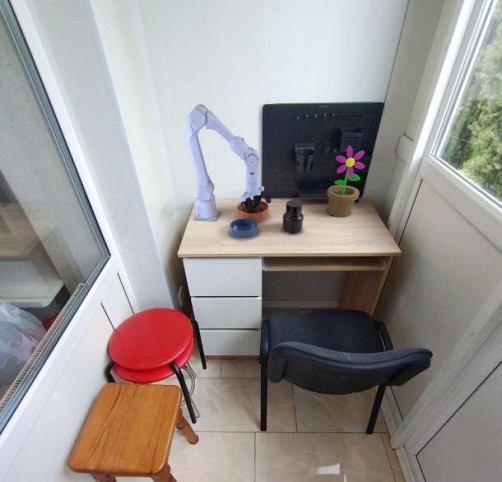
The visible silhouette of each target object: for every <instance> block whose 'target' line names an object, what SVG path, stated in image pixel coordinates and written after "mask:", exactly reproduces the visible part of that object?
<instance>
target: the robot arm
mask: <svg viewBox="0 0 502 482" xmlns="http://www.w3.org/2000/svg"><path fill="white" fill-rule="evenodd" d="M204 127H205V130H214V131H215V132H216V133H217V134H218V135H220V136H221V137H222V138H223V139H224V140H225V141H226V142H227V143H228V144H229V149H230V150H232V152H233V153H235V154H236V155H237V156H238V158H240V159H241V160H242V161H244V165H245V191H244V193H243V194H242V195H240V202H242V201H243V202H244V204H245V206H246V209H247V213H252V205H253V202H254V205H258V209H259V205H260V202H261V201H262V199H263V197H264V193H263V192H264V191H265V186H263V185H260V166H259V164H260V154H259V152H258V150H257V149H255V148H254V147H253V146H252V147H251V146H250V145H249V144H248V143H247V142H246V139H245V138H244V136H240V135H239V136H238V135H234V134H233V132H232V131H231V130H230V129H229V128H228V127H227V126H226V125H225V124H224V123H223V122H222V121H221V119H220V118H218V117H217V115H215V114H214V112H213V111H212V110H210V109H209V108H208V107H207V106H206V105H204V104H202V103H200V104H197V105H195V106H194V108H193V109H192V110H191V111H190V112H189V113H188V115H187V116H186V122H185V126H184V130H183V136H184V139H185V142H186V146H187V150H188V153H189V156H190V159H191V163H192V167H193V169H194V173H195V177H196V186H197V197H195V198H194V210H195V215H196V218H195V219H196V220H201V221H202V220H211V221H212V220H213V221H216V220H217V218H218V216H219V214H220V211H217V204H216V195H215V194H214V191H215V184H214V182H213V181H212V180H211V179H212V178H211V176H210V175H209V173H208V170H207V169H208V168H207V166H206V162H205V159H204V155H203V151H202V150H203V149H202V147H201V144H200V140H199V136H198V135H199V133H200V131H201V129H203V128H204Z"/></svg>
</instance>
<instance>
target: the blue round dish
mask: <svg viewBox="0 0 502 482" xmlns="http://www.w3.org/2000/svg"><path fill="white" fill-rule="evenodd" d="M258 225H259V224H258V223H257V222H256V221H255V220H252V219H248V218H240V219H238V218H237V219H236V218H235V219H234V220H232V221H231V222H230V224H229V232H230V235H231V236H232V237H233V238H238V239H250V238H254V237H255V236H257V234H258V231H259V227H258Z"/></svg>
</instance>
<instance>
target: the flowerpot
mask: <svg viewBox="0 0 502 482" xmlns="http://www.w3.org/2000/svg"><path fill="white" fill-rule="evenodd" d="M353 150H354V149H353V147H352V146H351V145H348V146H347V149H346V156H347V158H346V157H345V156H343V155H336V157H335V160H336V161H337V162H338V163H342V165H340V166H339V167H338V168H337V170H336V173H337V174H342V173H343V172H344V171H346V172H345V177H344V180H343V179H337V180H336V181H335V180H334V184H336V185H331V186H329V188H328V189H327V191H326V196H327V197H328V208H327V211H328V214H329V215H331V216H334V217H338V218H345V217H348V216H349V215H350V214H351V211H352V208H353V206H354V203H355V201H357V200H358V198H359V196H360V190H359V189H358V188H356V187H354V186H351V185H347V182H348V180H349V181H351V182H357V181H360V180H361V178H360V177H359V175H358V174H356V173H354V168H355V169H358V170H363V169H365V167H366V165H365V164H364V163H363V162H360V161H359V160H360V159H361V158H362V157H363V156H364V154H365V151H364V150H360V151H358V152H357V153H355V154H354V152H353ZM353 155H354V156H353ZM353 166H354V168H353Z"/></svg>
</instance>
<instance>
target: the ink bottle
mask: <svg viewBox="0 0 502 482" xmlns="http://www.w3.org/2000/svg"><path fill="white" fill-rule="evenodd" d="M303 206H304V205H303V202H302V201H301V200H298V199H289V200H286V203H285V212H284V213H283V214H282V223H281V224H282V225H281V228H282V229H281V230H283V232H285V233H288V234H299V233H300V232H302V230H303V225H304V217H305V216H304V214H303V213H302V212H303Z"/></svg>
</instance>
